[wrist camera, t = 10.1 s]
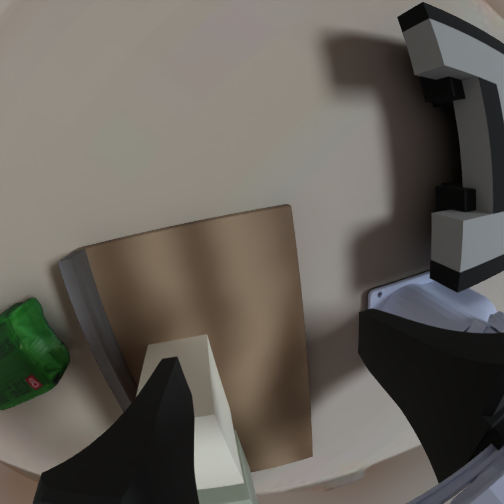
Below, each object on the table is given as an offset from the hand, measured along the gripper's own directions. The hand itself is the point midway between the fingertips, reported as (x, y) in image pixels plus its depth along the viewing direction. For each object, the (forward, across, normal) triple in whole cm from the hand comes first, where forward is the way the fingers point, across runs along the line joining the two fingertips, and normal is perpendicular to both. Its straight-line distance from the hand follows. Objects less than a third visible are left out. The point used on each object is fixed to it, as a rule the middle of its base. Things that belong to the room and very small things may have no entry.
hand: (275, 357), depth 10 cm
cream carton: (+9, +5, +8) cm, 13 cm away
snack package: (+11, +22, +3) cm, 25 cm away
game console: (+11, -30, -7) cm, 33 cm away
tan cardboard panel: (+10, +4, +10) cm, 15 cm away
